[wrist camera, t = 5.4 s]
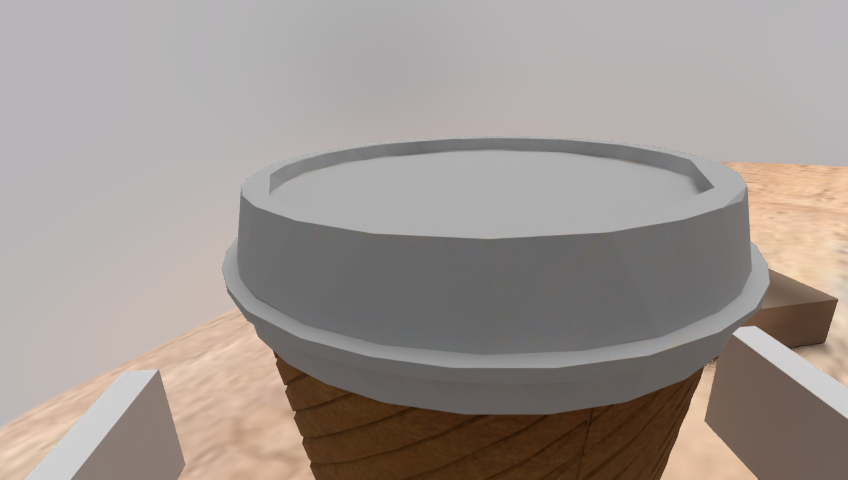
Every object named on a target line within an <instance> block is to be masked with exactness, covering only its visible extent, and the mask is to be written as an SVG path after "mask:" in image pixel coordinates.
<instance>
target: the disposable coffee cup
mask: <svg viewBox="0 0 848 480" xmlns="http://www.w3.org/2000/svg"><path fill="white" fill-rule="evenodd" d="M240 199H241V200H240V215H239V233H238V237H237V238H236V240H235V241H234V242H233V244H232V245H231V247H230V248H229V249H228V250H227V252H226V256H225V259H224V263H223V266H222V271H223V275H224V279H225V283H226V287H227V291H228V293H229V295H230V296H231V298H232V299H233V301H234V302H235V304H236V305H237V306H238V308H239V309H240V311H241V312H242V314H243V315H244V316H245V318H246V319H247V321H249V322H251V323H252V324H254V327H255V329H256V332H257V335H258V337H259V338H260V339H261V340H262V341H263V342H265V343H266V344H267V345H268V346H269V347H270V348H271V349H272V350H273V352H274V355H275V358H277V362H276V365H277V368H278V370H279V373H280V375H281V378H282V380H283V383H284V385H288V386H287V389H286V391H285V393H286V395H287V397H288V400H289V402H290V405H291V407H292V410H293V411H296V414H295V417H294V419H295V422H296V424H297V427H298V429H299V431H300V434H301V435H302V436H303V437H304V438H303V442H302V444H303V446H304V448H305V451H306V453H307V455H308V458H309V459H310V460H311V464H310V468H311V470H312V472H313V475H314V477H315V479H316V480H660V478H661V476H662V474H663V471H664V469H665V467H666V465H667V462H668V458H669V455H670V452H671V450H672V448H673V446H674V444H675V441H676V439H677V437H678V433H679V430H680V427H681V425H682V422H683V420H684V418H685V416H686V414H687V411H688V409H689V406H690V402H691V399H692V397H693V394H694V392H695V390H696V388H697V386H698V383H699V381H700V379H701V375H702V372H703V368H704V365H706V364H707V363H709V362H710V361H711V360H713V359H714V358H715V357H717V356H718V355H719V354H720V353H721V351H722V350H723V348H724V347H725V345H726V343H727V342H728V340H729V339H730V337H731V335H732V334H733V333H734V332H735V331H736V330H737V329H738V328H739V327H741V326H742V325H743V324H744V323H745V322H746V321H747V320H748V319H750V318H751V317H752V316H753V315H754V314H755V313H756V312H758V311H759V310H760V309H761V308H762V305H763V302H764V299H765V296H766V293H767V290H768V287H769V284H770V280H769V272H768V264H767V262H766V261H765V259H764V257H763V256H762V254H761V253H760V251H759V249H758V248H757V246H756V245H754V244H753V243H752V242H751V241H750V226H749V209H748V191H747V185H746V183H745V181H744V180H743V178H742V176H741V175H740V173H738V172H736V171H735V170H733V169H731V168H729V167H728V166H726V165H724V164H722V163H719V162H716V161H713V160H711V159H708V158H705V157H701V156H697V155H692V154H688V153H684V152H679V151H674V150H669V149H663V148H659V147H654V146H647V145H639V144H629V143H620V142H613V141H601V140H591V139H579V138H578V139H577V138H553V137H529V136H484V137H483V136H482V137H444V138H428V139H415V140H401V141H390V142H380V143H371V144H364V145H357V146H350V147H343V148H338V149H333V150H328V151H323V152H317V153H312V154H307V155H302V156H298V157H295V158H291V159H288V160H284V161H281V162H278V163H276V164H273V165H270V166H267V167H264V168H262V169H261V170H259V171H258V172H256V173H255V174H253V175H252V176H250V177H249V178H247V179H246V180H245V182H244V183H243V185H242V186H241V198H240Z"/></svg>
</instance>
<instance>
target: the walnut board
mask: <svg viewBox="0 0 848 480" xmlns="http://www.w3.org/2000/svg"><path fill="white" fill-rule="evenodd" d="M768 272H769V280H770V284H769V287H768V290H767V293H766V296H765V299H764V302H763V305H762V308H761V309H760V310H759V311H758V312H756V313H755V314H754V315H753V316H752V317H751V318H750V319H748V320H747V321H746V322H745V323H744V324H743V325H742V326H741V327H748V326H756V327H758V328H759V329H761V330H762V331H764V332H765V333H767V334H768V335H770V336H771V337H773V338H774V339H776V340H777V341H779V342H780V343H781V344H783V345H784V346H786V347H787V348H789V347H796V346H803V345H810V344H817V343H824V342H825V341H826V337H827V334H828V331H829V328H830V324H831V321H832V318H833V315H834V311H835V308H836V305H837V302H838V299H837V298H835V297H832V296H830V295H828V294H826V293H823V292H821V291H819V290H816V289H814V288H812V287H810V286H807V285H805V284H803V283H800V282H798V281H796V280H794V279H791V278H789V277H787V276H784V275H782V274H780V273H778V272H775V271H773V270H771V269H768ZM718 357H719V355H718V356H717V357H715V358H718Z"/></svg>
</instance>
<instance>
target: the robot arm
mask: <svg viewBox="0 0 848 480" xmlns="http://www.w3.org/2000/svg"><path fill="white" fill-rule="evenodd" d="M705 422H706V423H707V424H708V425H709V426H710V428H711V429H712V430H713V431H714V432H715V433H716V434H717V435H718V436H719V437H720V438H721V439H722V440H723V442H724V443H725V444H726V445H727V446H728V447H729V448H730V449H731V450H732V451H733V452H734V453H735V454H736V456H737V457H738V458H739V459H740V460H741V461H742V462H743V463H744V464H745V465H746V466H747V467H748V469H749V470H750V471H751V472H752V473H753V474H754V475H755V476H756V477H757V478H758V479H759V480H848V388H847V387H846V386H844V385H843V384H841V383H840V382H838V381H837V380H835V379H834V378H832V377H831V376H829V375H828V374H826V373H825V372H823V371H822V370H820V369H819V368H817V367H816V366H814V365H813V364H811V363H810V362H808V361H807V360H805V359H804V358H802V357H801V356H799V355H798V354H796V353H795V352H793V351H792V350H790V349H789V348H787V347H786V346H784V345H783V344H781V343H780V342H779V341H777V340H776V339H774V338H773V337H771V336H770V335H768V334H767V333H765V332H764V331H762V330H761V329H759V328H758V327H756V326H748V327H739V328H738V329H737V330H736V331H735V332H734V333H733V334H732V335H731V337H730V339H729V340H728V342H727V343H726V345H725V347H724V348H723V350H722V351H721V353H720V354H719V357H718V361H717V366H716V371H715V375H714V380H713V384H712V389H711V393H710V398H709V403H708V407H707V412H706V416H705ZM184 466H185V461H184V458H183V454H182V451H181V447H180V443H179V440H178V436H177V433H176V429H175V425H174V422H173V418H172V415H171V411H170V408H169V404H168V400H167V397H166V393H165V390H164V386H163V382H162V379H161V375H160V372H159V369H152V370H138V371H124V372H122V373H121V374H120V375H119V377H118V378H117V379H116V380H115V381H114V382H113V383H112V384H111V385H110V386H109V388H108V389H107V390H106V391H105V392H104V393H103V394H102V395H101V396H100V397H99V398H98V400H97V401H96V402H95V403H94V404H93V405H92V406H91V407H90V408H89V409H88V411H87V412H86V413H85V414H84V415H83V416H82V417H81V418H80V419H79V420H78V421H77V423H76V424H75V425H74V426H73V427H72V428H71V429H70V430H69V431H68V432H67V434H66V435H65V436H64V437H63V438H62V439H61V440H60V441H59V442H58V443H57V444H56V446H55V447H54V448H53V449H52V450H51V451H50V452H49V453H48V454H47V455H46V456H45V458H44V459H43V460H42V461H41V462H40V463H39V464H38V465H37V466H36V467H35V469H34V470H33V471H32V472H31V473H30V474H29V475H28V476H27V477H26V478H25V479H24V480H178V478H179V476H180V474H181V472H182V470H183V468H184Z"/></svg>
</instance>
